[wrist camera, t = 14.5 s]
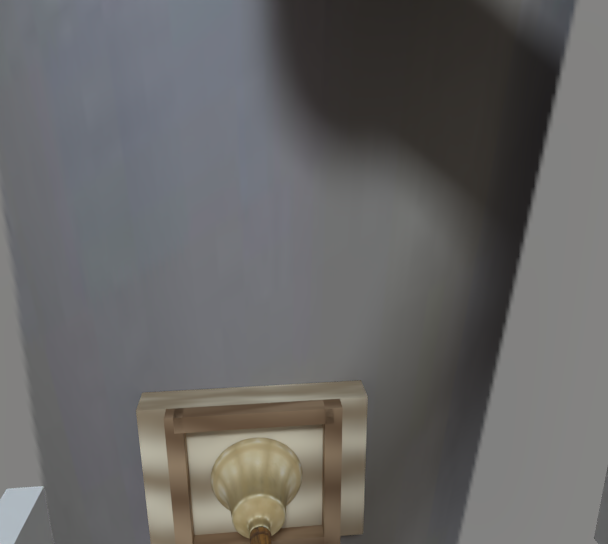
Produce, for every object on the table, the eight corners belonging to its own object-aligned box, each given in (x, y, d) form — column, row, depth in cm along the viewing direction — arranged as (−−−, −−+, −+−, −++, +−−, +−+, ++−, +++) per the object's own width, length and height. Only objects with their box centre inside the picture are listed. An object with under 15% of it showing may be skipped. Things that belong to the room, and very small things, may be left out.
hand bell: (295, 429, 49) (318, 578, 33) (307, 504, 51) (334, 675, 36) (202, 445, 48) (183, 604, 33) (219, 521, 51) (209, 700, 36)
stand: (142, 392, 49) (132, 420, 45) (360, 380, 51) (371, 406, 47) (156, 527, 54) (149, 564, 50) (356, 511, 56) (366, 546, 51)
